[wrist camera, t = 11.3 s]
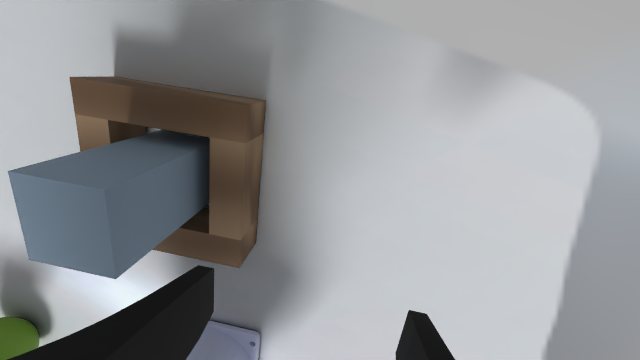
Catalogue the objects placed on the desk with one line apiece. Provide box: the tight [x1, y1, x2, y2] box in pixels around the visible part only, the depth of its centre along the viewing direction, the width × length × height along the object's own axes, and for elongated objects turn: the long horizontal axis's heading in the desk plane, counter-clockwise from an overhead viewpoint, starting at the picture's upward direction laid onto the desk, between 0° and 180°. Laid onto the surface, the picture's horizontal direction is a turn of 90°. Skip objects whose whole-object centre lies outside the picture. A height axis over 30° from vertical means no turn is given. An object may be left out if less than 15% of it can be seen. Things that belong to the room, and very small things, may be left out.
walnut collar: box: [70, 77, 266, 268], centre depth 19 cm, size 10×10×3 cm
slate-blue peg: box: [8, 130, 210, 279], centre depth 16 cm, size 4×4×9 cm
